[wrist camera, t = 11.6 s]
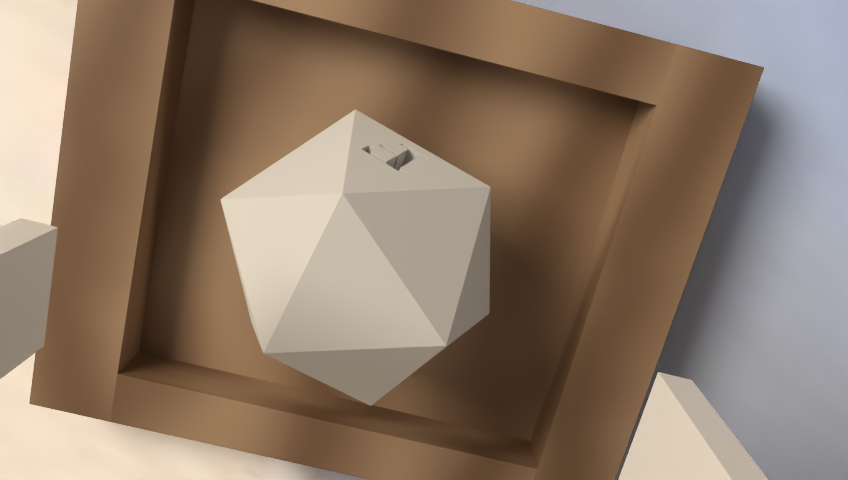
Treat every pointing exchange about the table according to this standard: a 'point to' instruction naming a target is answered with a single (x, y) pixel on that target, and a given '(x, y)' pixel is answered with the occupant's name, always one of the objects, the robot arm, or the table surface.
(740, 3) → the table surface
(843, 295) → the table surface
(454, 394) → the tray
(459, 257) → the die
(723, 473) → the robot arm
